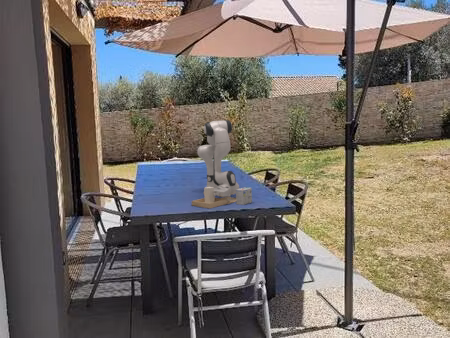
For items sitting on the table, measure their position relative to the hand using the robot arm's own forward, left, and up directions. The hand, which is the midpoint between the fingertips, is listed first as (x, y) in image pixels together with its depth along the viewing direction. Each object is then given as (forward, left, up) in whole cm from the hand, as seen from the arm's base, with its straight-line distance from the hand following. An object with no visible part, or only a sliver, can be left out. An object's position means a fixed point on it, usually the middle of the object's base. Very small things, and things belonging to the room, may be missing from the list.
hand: (208, 193), depth 321 cm
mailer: (-10, 0, -8) cm, 13 cm away
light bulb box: (-19, +17, -8) cm, 27 cm away
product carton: (-1, 0, -7) cm, 8 cm away
